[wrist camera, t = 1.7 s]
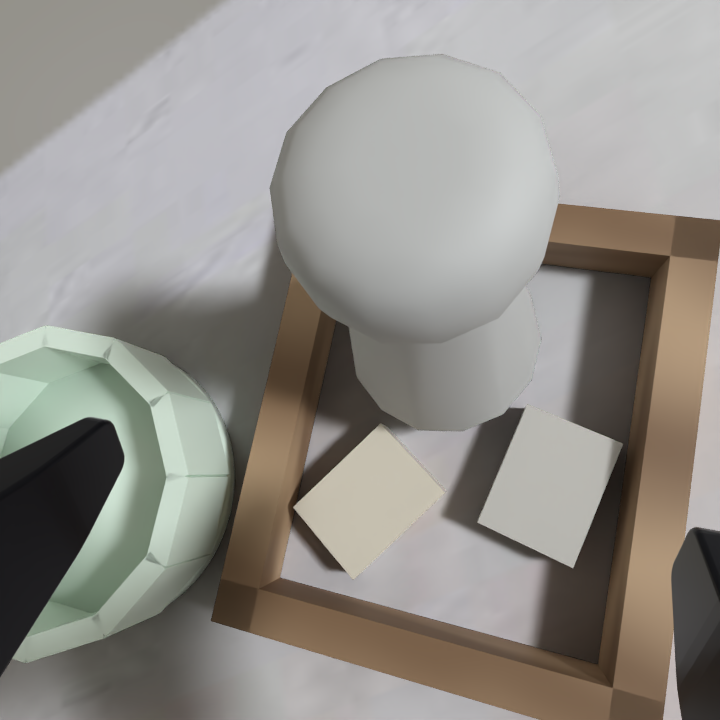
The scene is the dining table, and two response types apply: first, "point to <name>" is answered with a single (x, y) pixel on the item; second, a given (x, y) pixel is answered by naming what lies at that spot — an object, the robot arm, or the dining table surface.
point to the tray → (635, 520)
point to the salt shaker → (423, 231)
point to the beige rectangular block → (369, 500)
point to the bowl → (122, 477)
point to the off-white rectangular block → (550, 484)
